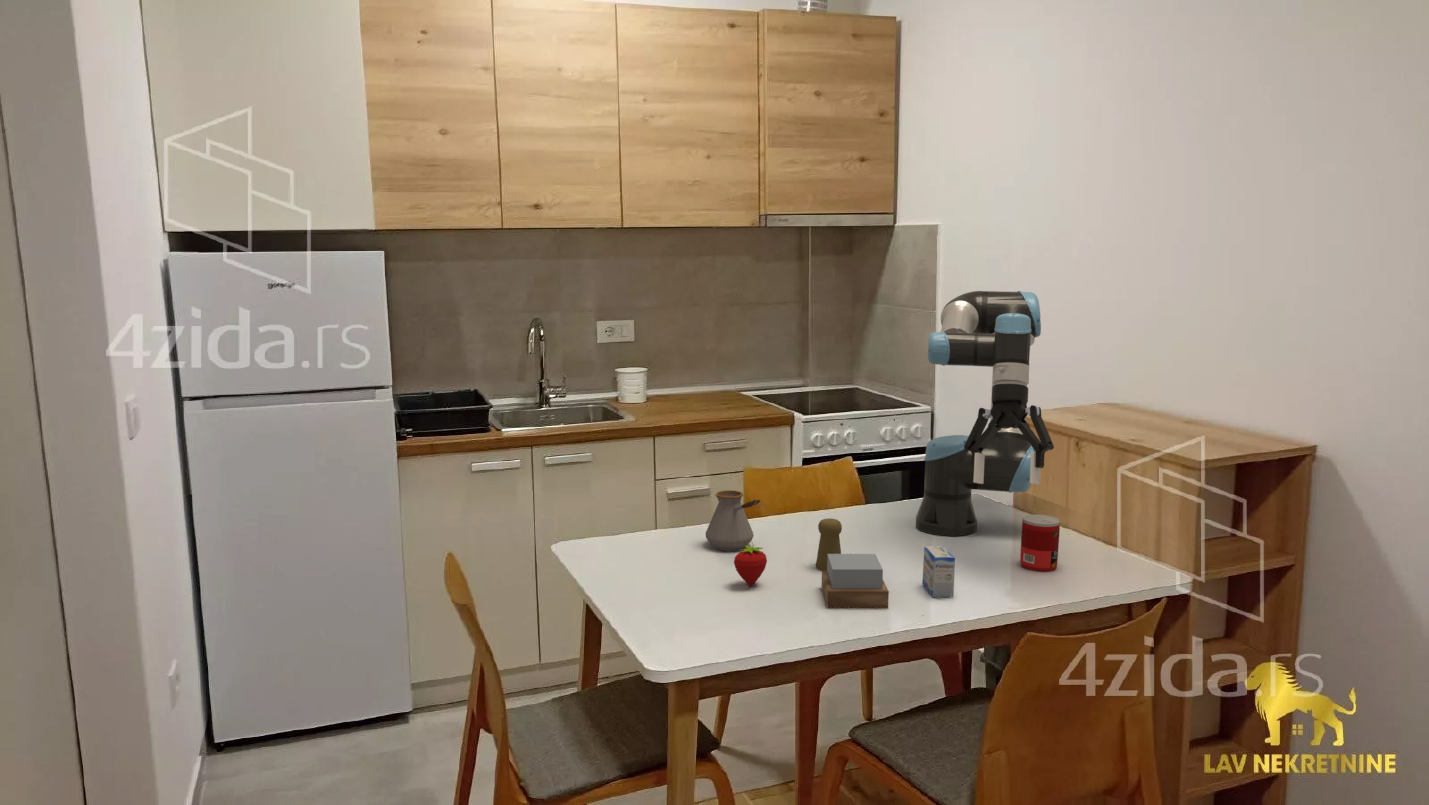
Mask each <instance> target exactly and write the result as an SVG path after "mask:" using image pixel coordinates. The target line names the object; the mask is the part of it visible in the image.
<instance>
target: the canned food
mask: <svg viewBox="0 0 1429 805" xmlns="http://www.w3.org/2000/svg"><path fill="white" fill-rule="evenodd" d="M1021 522H1022V523H1021V534H1020V535H1021V538H1020V558H1019V561H1020V565H1021V567H1022V568H1024V569H1027V570H1029V571H1032V572H1033V571H1034V572H1041V573H1043V572H1044V573H1045V572H1053V571H1055V570H1056V569H1057V567H1058V560H1059V559H1058V557H1059V547H1060V546H1059V545H1060V544H1059V543H1060V530H1061V527H1060V526H1061V520H1060V519H1058V517H1057V518H1056V517H1055V516H1051V515H1046V514H1027V515H1024V516H1022V521H1021ZM1052 570H1053V571H1052Z"/></svg>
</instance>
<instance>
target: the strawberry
mask: <svg viewBox="0 0 1429 805" xmlns="http://www.w3.org/2000/svg"><path fill="white" fill-rule="evenodd" d="M750 541H751V542H750V543H751V544H752V546H749V545H748V544H747V545H746V547H745V548H743V549H740V550H738V553H737V554H736V555H735V556H734V561H733V564H734V568H735V571H736V572H737V573H738V575H739V576H740V577H741V579H742V580H743V581H744V582H745V583H746V584H747V585H748V586H749V587H751V586H755V585H756V583H757V581H758V580H759V578H760V577H761V576H762V574H763V573H764V571H765V569H766V566H767V563H768V558H767V555H766V554H765V553H764V551H762V549H763V547H761V546H760V547H756V546H755V545H754V543H753V541H752V540H750ZM754 546H755V547H754ZM760 549H761V550H760ZM739 551H740V552H739Z"/></svg>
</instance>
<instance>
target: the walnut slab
mask: <svg viewBox="0 0 1429 805" xmlns="http://www.w3.org/2000/svg"><path fill="white" fill-rule="evenodd" d="M821 591H822V593H823V597H824V600H825V602H826V607H827V609H889V594H890V593H889V592H890V591H889V589H888V587H887V585H886V583H885V581H884V580H883V582H882V589H832V586H831V583H830V580H829V577H828V573H827V571H821Z"/></svg>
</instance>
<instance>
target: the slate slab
mask: <svg viewBox="0 0 1429 805" xmlns="http://www.w3.org/2000/svg"><path fill="white" fill-rule="evenodd" d="M827 573H828V577H829V580H830V583H831V586H832V589H882V582H883V581H884V578H883V577H884V576H883V573H884V569H883V567H882V564H881V562H880V561H879V558H878V556H877V554H876V553H841V554H827Z"/></svg>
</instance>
